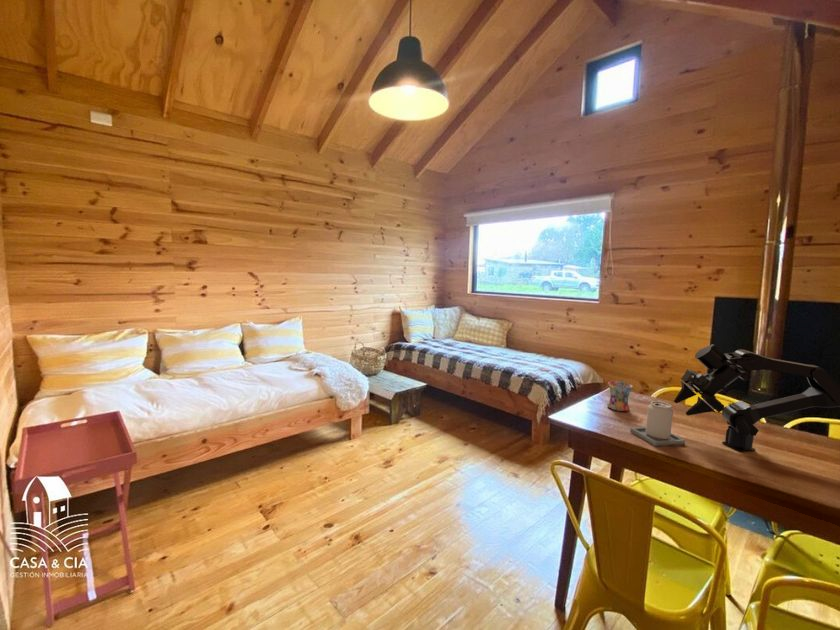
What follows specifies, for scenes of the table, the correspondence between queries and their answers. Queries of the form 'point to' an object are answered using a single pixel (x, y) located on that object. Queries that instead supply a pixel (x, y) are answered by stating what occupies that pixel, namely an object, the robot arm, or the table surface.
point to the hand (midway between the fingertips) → (680, 408)
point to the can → (659, 420)
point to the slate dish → (655, 442)
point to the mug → (619, 395)
